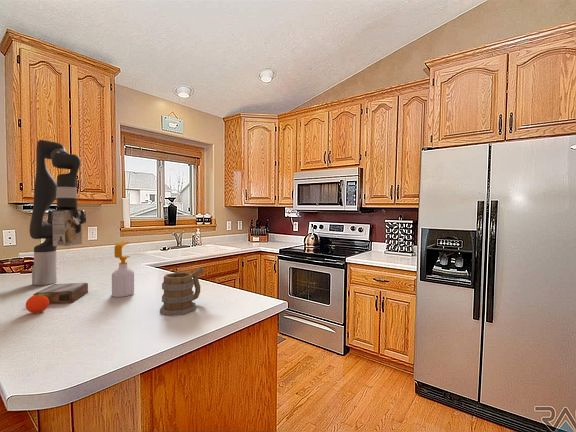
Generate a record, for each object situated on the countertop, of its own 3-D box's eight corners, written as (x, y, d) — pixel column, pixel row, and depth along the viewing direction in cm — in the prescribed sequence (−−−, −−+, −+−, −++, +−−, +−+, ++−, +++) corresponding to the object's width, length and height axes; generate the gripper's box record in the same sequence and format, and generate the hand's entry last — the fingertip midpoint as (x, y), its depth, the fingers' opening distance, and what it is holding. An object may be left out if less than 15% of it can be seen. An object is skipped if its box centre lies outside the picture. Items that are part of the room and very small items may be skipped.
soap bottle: (138, 292, 140) (138, 241, 140) (122, 298, 131) (122, 243, 131) (124, 291, 143) (124, 240, 143) (107, 296, 134) (107, 242, 134)
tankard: (174, 318, 108) (174, 277, 107) (154, 311, 114) (154, 273, 114) (215, 303, 125) (215, 268, 124) (195, 298, 131) (195, 265, 131)
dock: (31, 306, 120) (31, 293, 120) (53, 294, 136) (53, 283, 136) (71, 303, 123) (71, 291, 123) (88, 292, 140) (87, 282, 140)
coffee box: (69, 244, 139) (69, 210, 138) (82, 244, 138) (81, 210, 138) (52, 246, 129) (51, 209, 129) (65, 246, 129) (64, 209, 129)
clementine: (50, 307, 118) (50, 290, 118) (54, 311, 114) (54, 293, 114) (23, 312, 112) (23, 294, 112) (27, 317, 108) (27, 297, 108)
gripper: (44, 196, 128) (44, 234, 128) (81, 197, 132) (82, 233, 132) (52, 197, 135) (53, 233, 135) (88, 198, 139) (88, 232, 139)
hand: (67, 233), depth 134 cm, fingers closed on coffee box, 8 cm apart
